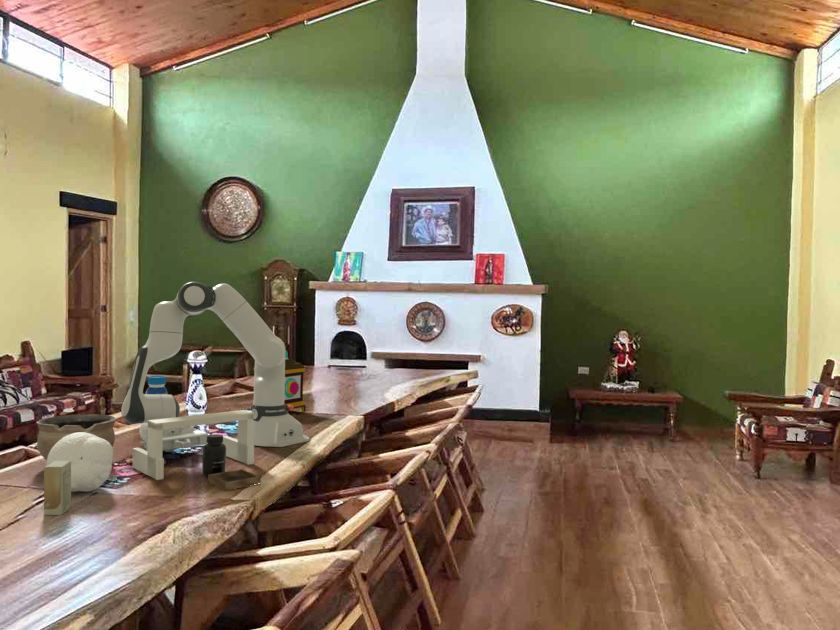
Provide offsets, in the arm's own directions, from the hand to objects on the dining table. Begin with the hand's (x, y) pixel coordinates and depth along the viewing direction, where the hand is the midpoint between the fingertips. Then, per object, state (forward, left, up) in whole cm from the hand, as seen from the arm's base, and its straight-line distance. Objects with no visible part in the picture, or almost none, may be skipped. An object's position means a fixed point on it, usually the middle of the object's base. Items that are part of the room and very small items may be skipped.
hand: (187, 445), depth 232 cm
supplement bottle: (0, +19, -6) cm, 20 cm away
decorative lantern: (-72, -60, -6) cm, 94 cm away
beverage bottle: (-16, -61, -6) cm, 63 cm away
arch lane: (0, +5, -5) cm, 8 cm away
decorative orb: (+36, +12, -6) cm, 38 cm away
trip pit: (0, +31, -5) cm, 31 cm away
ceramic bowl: (+29, -15, -6) cm, 33 cm away
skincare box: (+47, +27, -6) cm, 55 cm away
